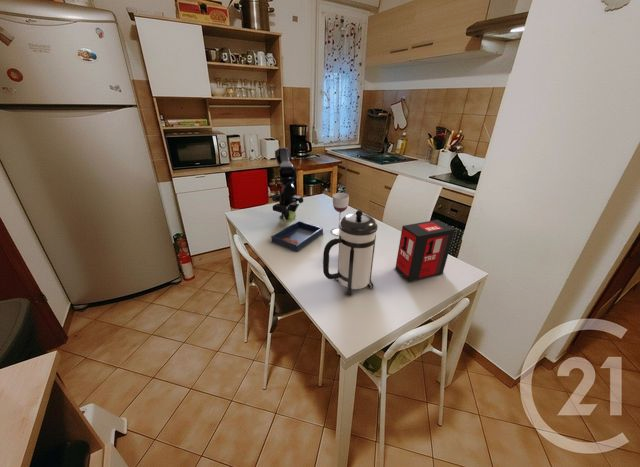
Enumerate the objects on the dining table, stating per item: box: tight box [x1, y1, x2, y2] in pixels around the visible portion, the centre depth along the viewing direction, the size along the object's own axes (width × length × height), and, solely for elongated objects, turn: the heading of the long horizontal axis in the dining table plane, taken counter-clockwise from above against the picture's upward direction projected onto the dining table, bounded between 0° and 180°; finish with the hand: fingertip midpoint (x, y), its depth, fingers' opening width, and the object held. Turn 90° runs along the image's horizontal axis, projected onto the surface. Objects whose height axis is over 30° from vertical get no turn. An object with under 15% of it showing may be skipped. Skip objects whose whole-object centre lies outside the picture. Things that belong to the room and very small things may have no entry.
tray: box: [271, 220, 324, 253], centre depth 130 cm, size 22×16×3 cm
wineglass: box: [331, 192, 350, 236], centre depth 132 cm, size 8×9×20 cm
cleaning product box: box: [394, 219, 456, 283], centre depth 102 cm, size 16×9×20 cm, turn 110°
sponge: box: [282, 211, 296, 223], centre depth 140 cm, size 4×5×4 cm
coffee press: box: [322, 209, 379, 296], centre depth 92 cm, size 17×16×30 cm
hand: (289, 218), depth 141 cm, fingers closed on sponge, 4 cm apart
